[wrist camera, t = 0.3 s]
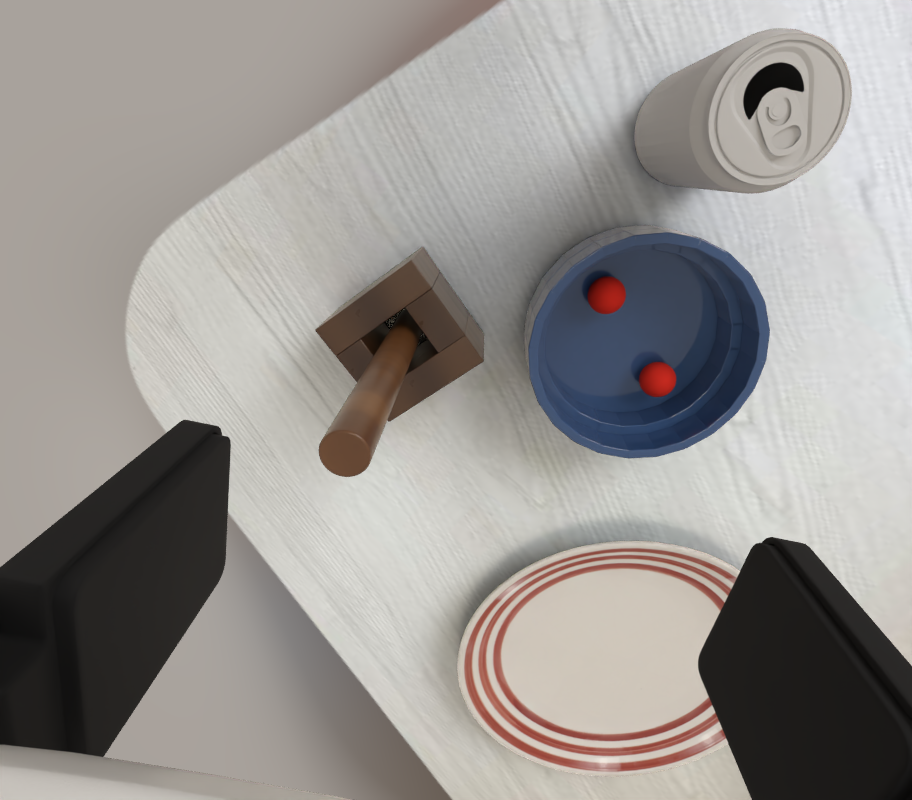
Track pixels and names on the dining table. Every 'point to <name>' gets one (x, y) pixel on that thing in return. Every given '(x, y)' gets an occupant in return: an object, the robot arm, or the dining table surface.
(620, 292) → the tomato
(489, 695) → the dinner plate
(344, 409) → the stirring stick
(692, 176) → the beverage can
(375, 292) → the holder
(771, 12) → the dining table surface
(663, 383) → the tomato
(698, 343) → the bowl
